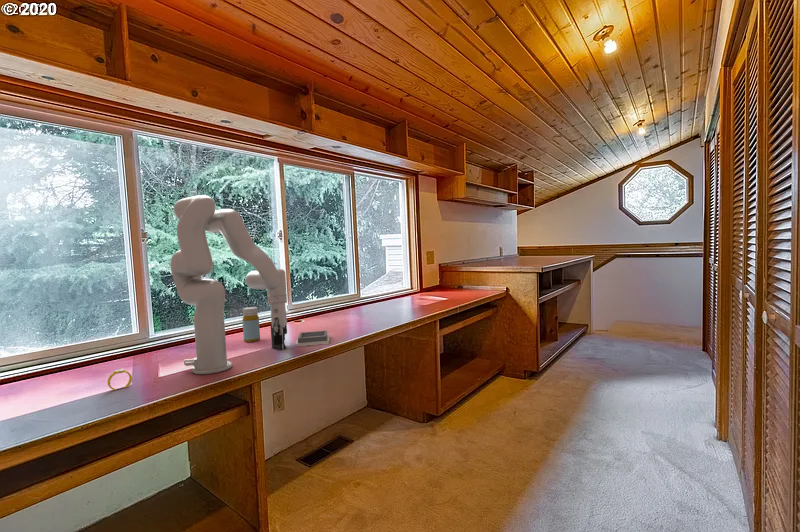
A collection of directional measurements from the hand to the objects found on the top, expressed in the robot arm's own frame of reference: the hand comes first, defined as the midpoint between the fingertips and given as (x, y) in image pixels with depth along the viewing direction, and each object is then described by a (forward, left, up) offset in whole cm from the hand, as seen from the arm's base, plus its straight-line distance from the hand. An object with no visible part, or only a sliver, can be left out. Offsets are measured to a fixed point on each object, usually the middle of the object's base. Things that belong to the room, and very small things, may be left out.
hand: (279, 342), depth 163 cm
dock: (+13, +8, -3) cm, 16 cm away
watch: (-43, -35, -3) cm, 55 cm away
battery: (0, 0, -3) cm, 3 cm away
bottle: (-15, +20, -3) cm, 25 cm away
